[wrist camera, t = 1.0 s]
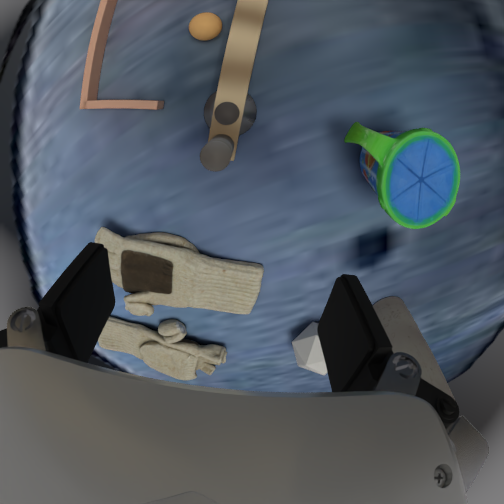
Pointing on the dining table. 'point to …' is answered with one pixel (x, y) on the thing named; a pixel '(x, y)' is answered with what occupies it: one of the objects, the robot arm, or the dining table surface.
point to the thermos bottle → (409, 339)
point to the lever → (233, 84)
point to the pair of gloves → (173, 298)
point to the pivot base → (248, 113)
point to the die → (309, 350)
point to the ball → (205, 26)
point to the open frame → (95, 66)
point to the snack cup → (409, 173)
